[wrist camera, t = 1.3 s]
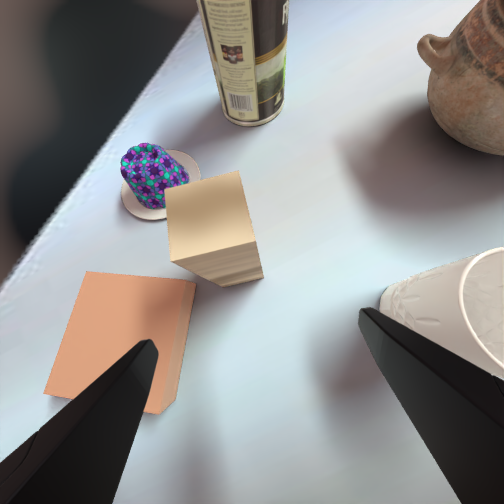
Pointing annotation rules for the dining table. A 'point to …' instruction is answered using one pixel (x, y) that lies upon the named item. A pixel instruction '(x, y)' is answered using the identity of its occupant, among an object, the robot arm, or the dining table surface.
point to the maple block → (213, 230)
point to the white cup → (456, 307)
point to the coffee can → (247, 56)
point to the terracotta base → (124, 332)
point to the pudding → (153, 178)
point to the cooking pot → (469, 78)
